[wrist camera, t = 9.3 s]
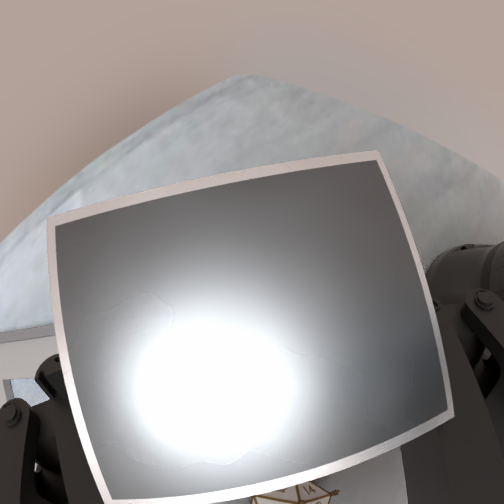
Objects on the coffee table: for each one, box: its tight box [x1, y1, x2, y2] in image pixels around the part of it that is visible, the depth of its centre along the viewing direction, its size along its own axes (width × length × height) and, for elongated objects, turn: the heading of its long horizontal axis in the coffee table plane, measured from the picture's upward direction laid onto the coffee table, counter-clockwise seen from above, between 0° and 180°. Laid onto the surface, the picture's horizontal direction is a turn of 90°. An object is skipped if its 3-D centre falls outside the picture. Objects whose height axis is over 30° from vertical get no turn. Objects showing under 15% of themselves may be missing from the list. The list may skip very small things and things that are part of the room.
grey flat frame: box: [0, 324, 59, 471], centre depth 25 cm, size 24×18×2 cm
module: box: [47, 150, 455, 504], centre depth 10 cm, size 6×5×13 cm
